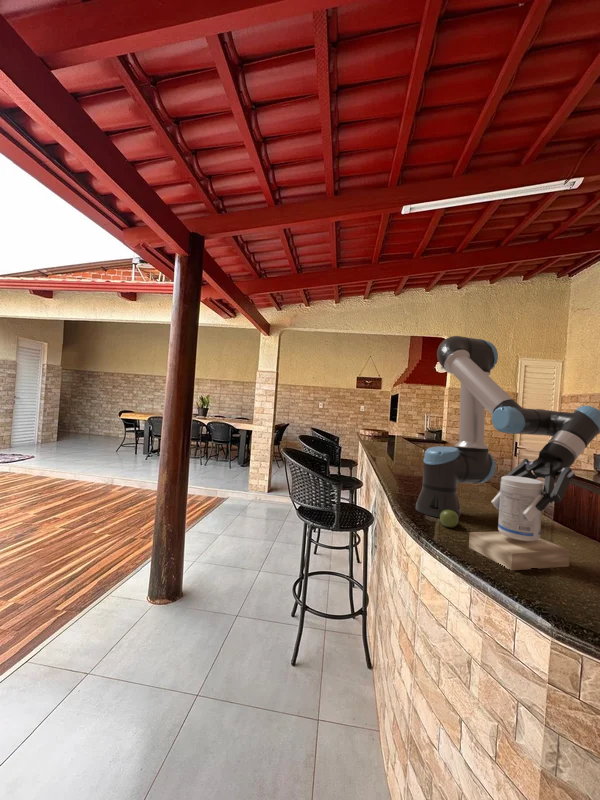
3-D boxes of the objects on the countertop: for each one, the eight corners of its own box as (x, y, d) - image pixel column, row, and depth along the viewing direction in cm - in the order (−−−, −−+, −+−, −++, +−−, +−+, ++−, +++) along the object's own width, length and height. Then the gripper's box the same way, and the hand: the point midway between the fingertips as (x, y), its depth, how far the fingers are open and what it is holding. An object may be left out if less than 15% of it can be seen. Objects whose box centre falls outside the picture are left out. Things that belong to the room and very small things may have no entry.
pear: (440, 509, 118) (440, 507, 127) (439, 526, 117) (439, 523, 126) (459, 512, 116) (458, 510, 125) (458, 529, 115) (457, 526, 124)
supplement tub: (511, 527, 104) (515, 474, 104) (548, 539, 96) (551, 482, 96) (489, 531, 99) (493, 476, 100) (525, 544, 91) (529, 484, 91)
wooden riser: (468, 547, 102) (469, 532, 102) (521, 544, 107) (522, 530, 107) (511, 570, 88) (512, 553, 88) (568, 566, 93) (569, 550, 93)
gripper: (611, 469, 91) (557, 536, 87) (532, 455, 113) (485, 508, 108) (596, 447, 90) (541, 514, 85) (519, 437, 111) (471, 490, 107)
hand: (510, 511), depth 97 cm, fingers closed on supplement tub, 9 cm apart
